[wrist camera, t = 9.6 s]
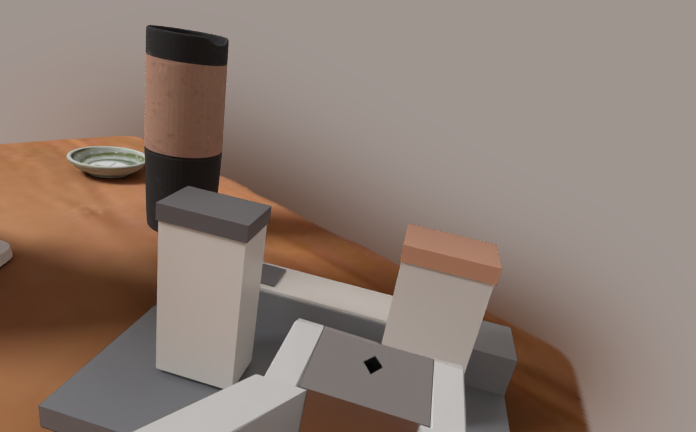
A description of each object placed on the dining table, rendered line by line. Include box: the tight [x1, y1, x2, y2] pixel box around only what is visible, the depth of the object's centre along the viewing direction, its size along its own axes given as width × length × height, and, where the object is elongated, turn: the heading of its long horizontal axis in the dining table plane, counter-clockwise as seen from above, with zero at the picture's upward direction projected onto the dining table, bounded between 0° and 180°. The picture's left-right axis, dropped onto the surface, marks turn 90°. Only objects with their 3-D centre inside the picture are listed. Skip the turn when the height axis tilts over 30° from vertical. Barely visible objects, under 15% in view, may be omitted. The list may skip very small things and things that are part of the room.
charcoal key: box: [156, 186, 271, 389], centre depth 27 cm, size 3×5×11 cm, turn 78°
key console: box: [38, 262, 517, 432], centre depth 30 cm, size 26×16×5 cm, turn 78°
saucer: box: [67, 146, 145, 178], centre depth 61 cm, size 10×10×2 cm
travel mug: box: [144, 25, 228, 231], centre depth 48 cm, size 8×8×20 cm
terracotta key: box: [382, 224, 502, 373], centre depth 28 cm, size 3×5×11 cm, turn 78°
